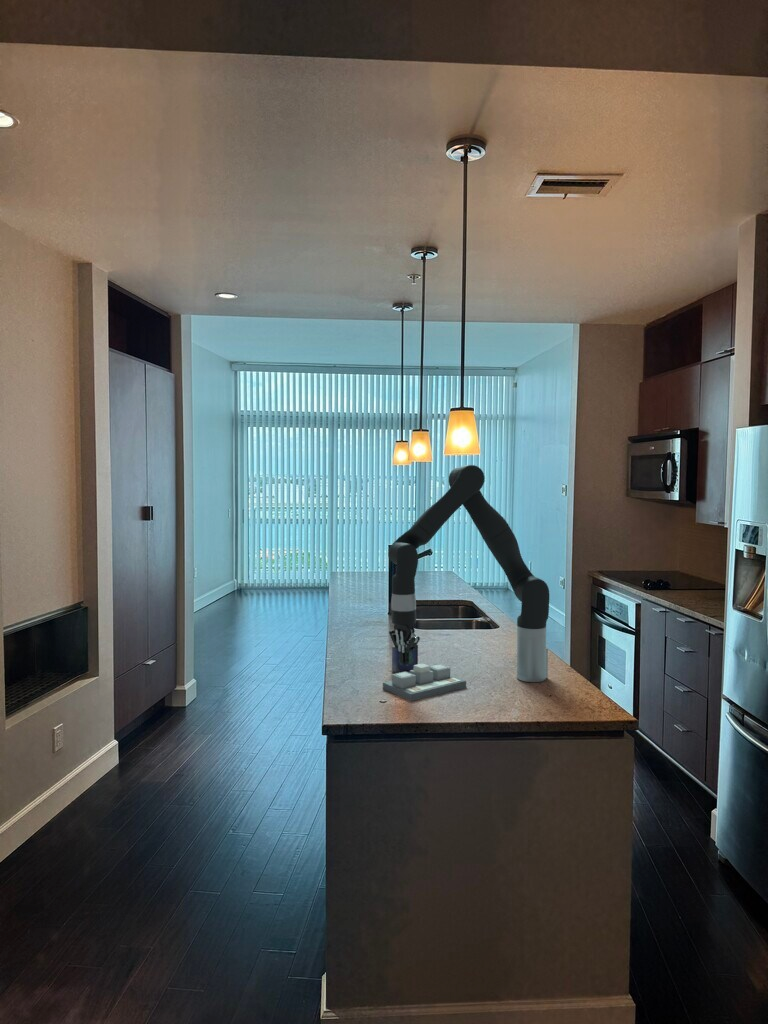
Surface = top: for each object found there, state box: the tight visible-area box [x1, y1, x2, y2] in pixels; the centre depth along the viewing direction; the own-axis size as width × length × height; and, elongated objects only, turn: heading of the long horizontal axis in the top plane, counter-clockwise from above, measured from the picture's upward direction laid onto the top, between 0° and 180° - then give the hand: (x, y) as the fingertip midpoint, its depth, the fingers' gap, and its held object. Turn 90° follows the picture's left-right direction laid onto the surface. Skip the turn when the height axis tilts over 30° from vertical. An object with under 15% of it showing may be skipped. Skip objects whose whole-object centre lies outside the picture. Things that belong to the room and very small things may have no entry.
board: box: [382, 663, 467, 702], centre depth 209 cm, size 22×14×5 cm, turn 126°
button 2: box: [430, 664, 448, 670], centre depth 214 cm, size 4×4×3 cm
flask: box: [391, 644, 419, 674], centre depth 227 cm, size 9×3×11 cm, turn 109°
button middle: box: [414, 663, 431, 674], centre depth 210 cm, size 4×4×3 cm
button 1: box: [395, 672, 412, 678], centre depth 206 cm, size 4×4×3 cm
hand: (404, 663), depth 206 cm, fingers closed
